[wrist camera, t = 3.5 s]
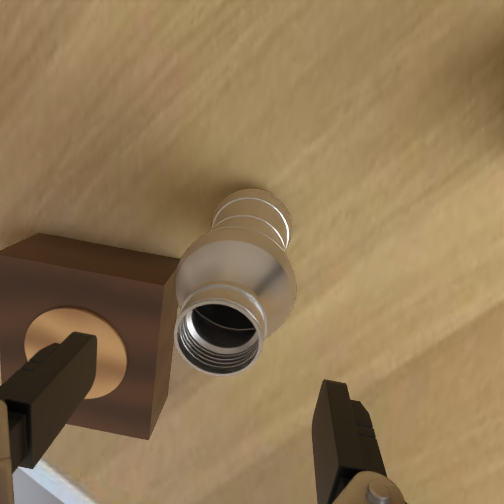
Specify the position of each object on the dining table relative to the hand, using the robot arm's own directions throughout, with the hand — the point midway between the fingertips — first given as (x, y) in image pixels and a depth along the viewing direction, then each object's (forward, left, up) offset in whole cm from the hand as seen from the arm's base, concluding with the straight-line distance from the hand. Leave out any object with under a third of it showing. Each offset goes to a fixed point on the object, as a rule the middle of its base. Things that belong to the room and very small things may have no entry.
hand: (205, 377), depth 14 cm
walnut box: (+13, -13, -22) cm, 29 cm away
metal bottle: (0, 0, -23) cm, 23 cm away
